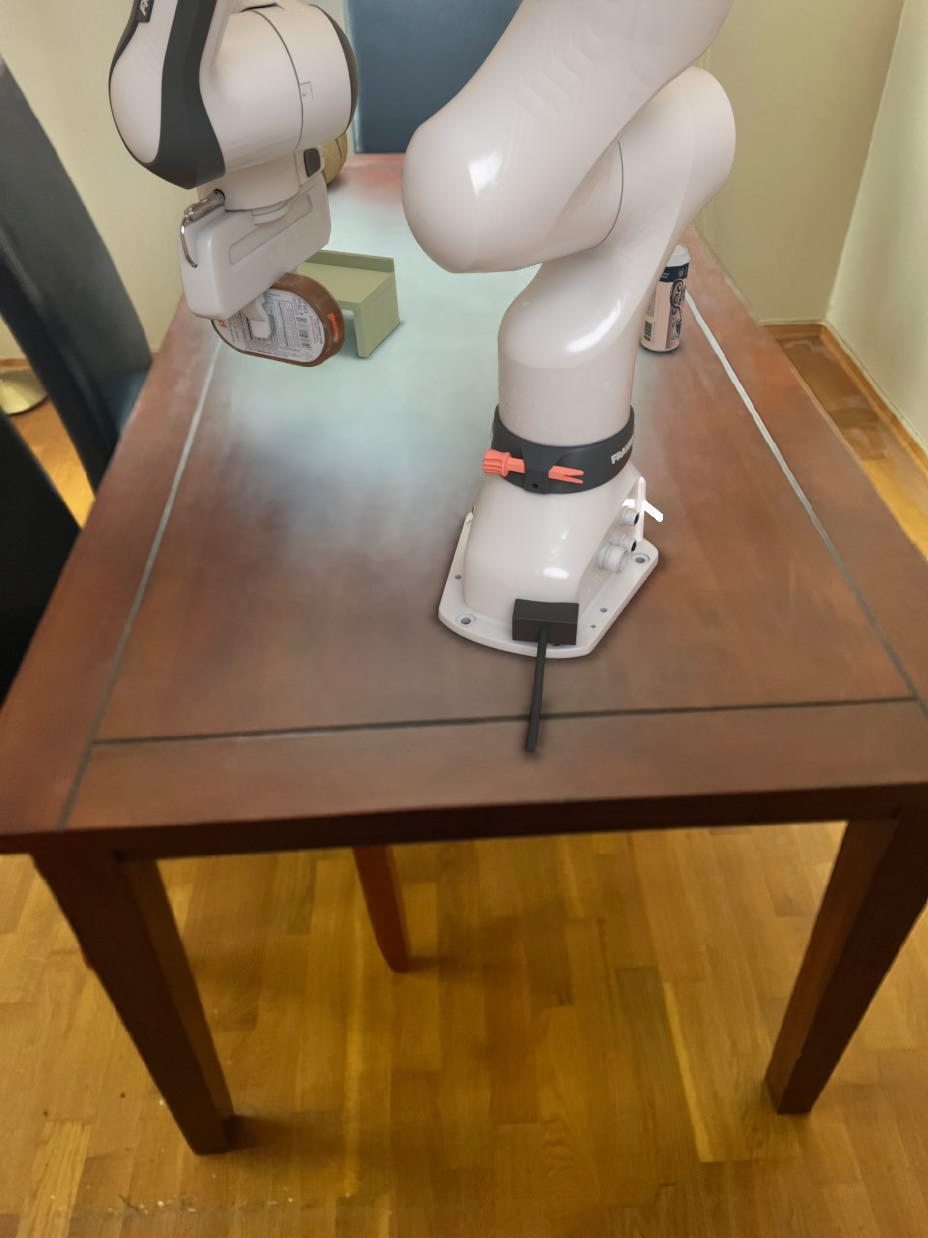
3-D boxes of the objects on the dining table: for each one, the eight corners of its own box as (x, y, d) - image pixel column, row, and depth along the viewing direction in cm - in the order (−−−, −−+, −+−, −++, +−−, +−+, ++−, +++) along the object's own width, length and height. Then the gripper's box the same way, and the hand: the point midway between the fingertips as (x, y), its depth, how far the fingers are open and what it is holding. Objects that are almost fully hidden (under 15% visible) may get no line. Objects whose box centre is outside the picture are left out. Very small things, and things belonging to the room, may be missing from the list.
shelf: (366, 357, 117) (358, 289, 111) (231, 336, 122) (216, 270, 116) (399, 323, 123) (393, 257, 117) (269, 304, 129) (257, 241, 123)
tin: (351, 364, 90) (341, 276, 84) (333, 377, 88) (322, 288, 82) (229, 340, 95) (213, 256, 90) (209, 351, 93) (191, 266, 88)
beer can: (678, 355, 114) (690, 258, 106) (639, 353, 115) (648, 256, 106) (679, 337, 117) (691, 241, 109) (641, 335, 118) (650, 240, 110)
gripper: (208, 216, 72) (246, 379, 81) (332, 142, 86) (352, 288, 95) (142, 210, 74) (187, 370, 83) (273, 139, 88) (299, 282, 97)
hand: (276, 325), depth 90 cm, fingers closed on tin, 2 cm apart
